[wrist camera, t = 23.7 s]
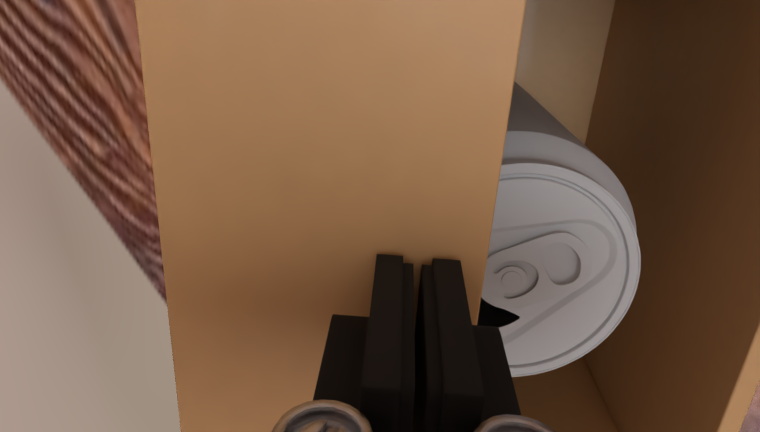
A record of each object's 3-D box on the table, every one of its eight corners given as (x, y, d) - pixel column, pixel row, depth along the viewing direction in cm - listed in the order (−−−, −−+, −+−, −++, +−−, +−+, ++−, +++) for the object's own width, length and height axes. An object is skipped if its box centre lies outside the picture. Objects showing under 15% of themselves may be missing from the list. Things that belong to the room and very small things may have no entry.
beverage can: (363, 104, 23) (328, 219, 12) (509, 36, 22) (613, 96, 11) (425, 231, 26) (441, 423, 15) (561, 175, 24) (690, 341, 13)
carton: (293, 276, 28) (200, 524, 15) (292, -64, 22) (138, -116, 9) (559, 296, 27) (685, 564, 15) (632, -43, 21) (946, -66, 9)
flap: (198, 536, 15) (193, 551, 14) (131, -116, 9) (120, -120, 8) (439, 553, 15) (440, 568, 14) (535, -90, 9) (541, -93, 8)
